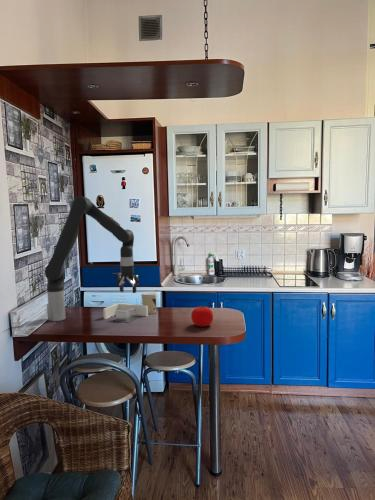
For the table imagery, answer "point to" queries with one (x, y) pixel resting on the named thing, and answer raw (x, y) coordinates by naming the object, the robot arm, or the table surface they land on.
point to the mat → (127, 320)
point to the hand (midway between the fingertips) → (128, 292)
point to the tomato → (202, 316)
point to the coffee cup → (149, 301)
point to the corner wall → (111, 310)
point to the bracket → (126, 314)
